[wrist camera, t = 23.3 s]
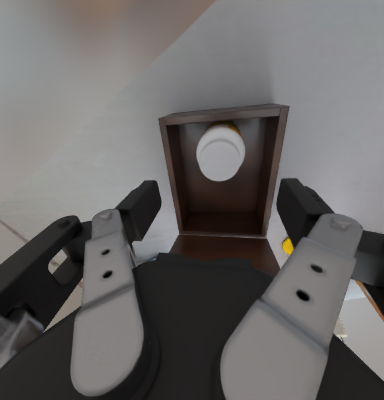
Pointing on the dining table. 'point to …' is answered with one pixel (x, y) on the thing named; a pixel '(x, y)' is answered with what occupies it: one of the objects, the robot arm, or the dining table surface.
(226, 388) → the robot arm
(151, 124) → the dining table surface
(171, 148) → the chest
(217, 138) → the supplement bottle
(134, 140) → the dining table surface
